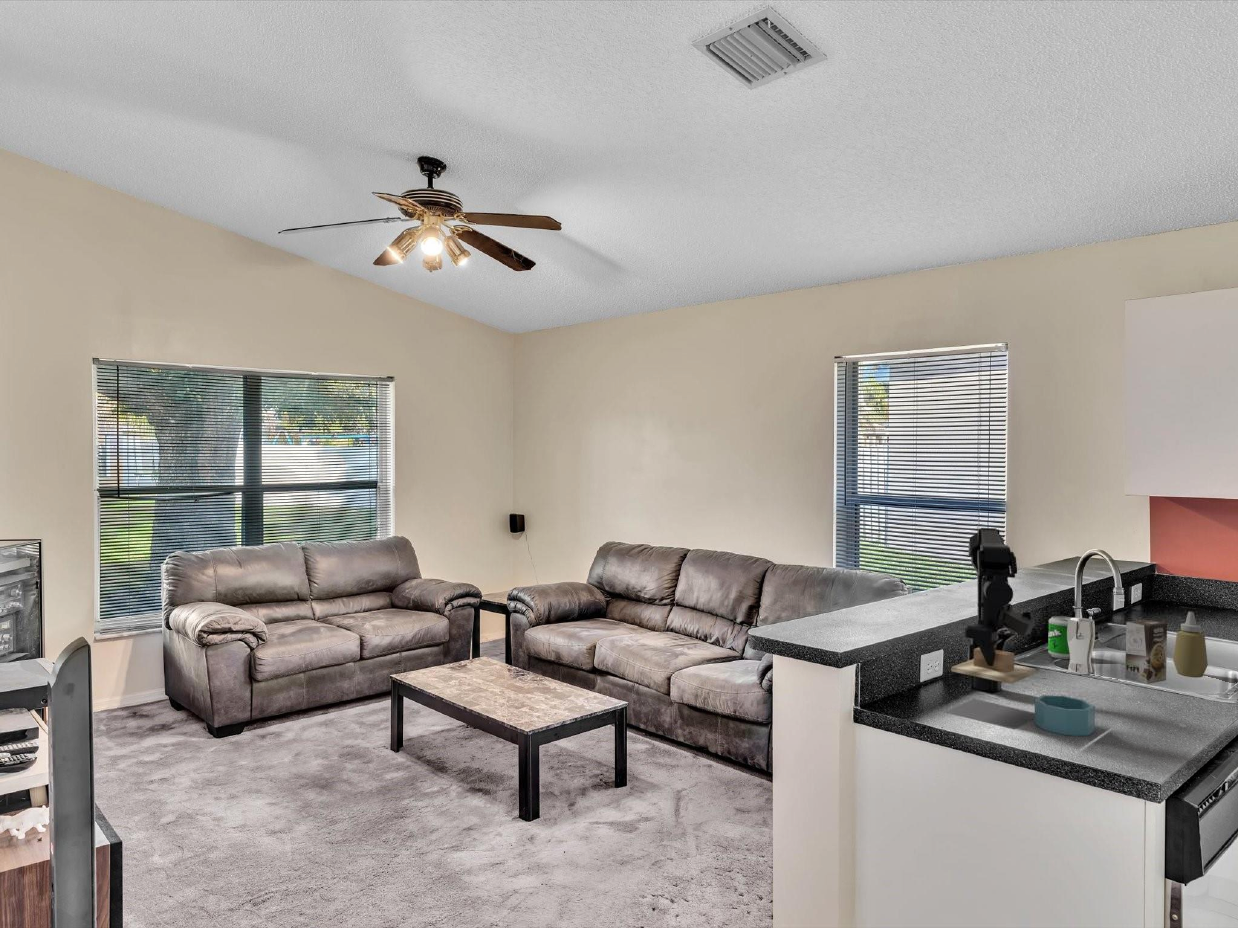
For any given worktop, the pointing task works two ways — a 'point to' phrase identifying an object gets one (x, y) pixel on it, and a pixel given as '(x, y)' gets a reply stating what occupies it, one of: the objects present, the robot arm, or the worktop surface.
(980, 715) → the mat
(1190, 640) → the squeeze bottle
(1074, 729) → the bowl
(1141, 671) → the cookie box
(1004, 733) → the worktop surface
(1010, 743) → the worktop surface
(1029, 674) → the lid
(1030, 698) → the worktop surface
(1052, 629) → the soda can
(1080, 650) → the white tall piece
